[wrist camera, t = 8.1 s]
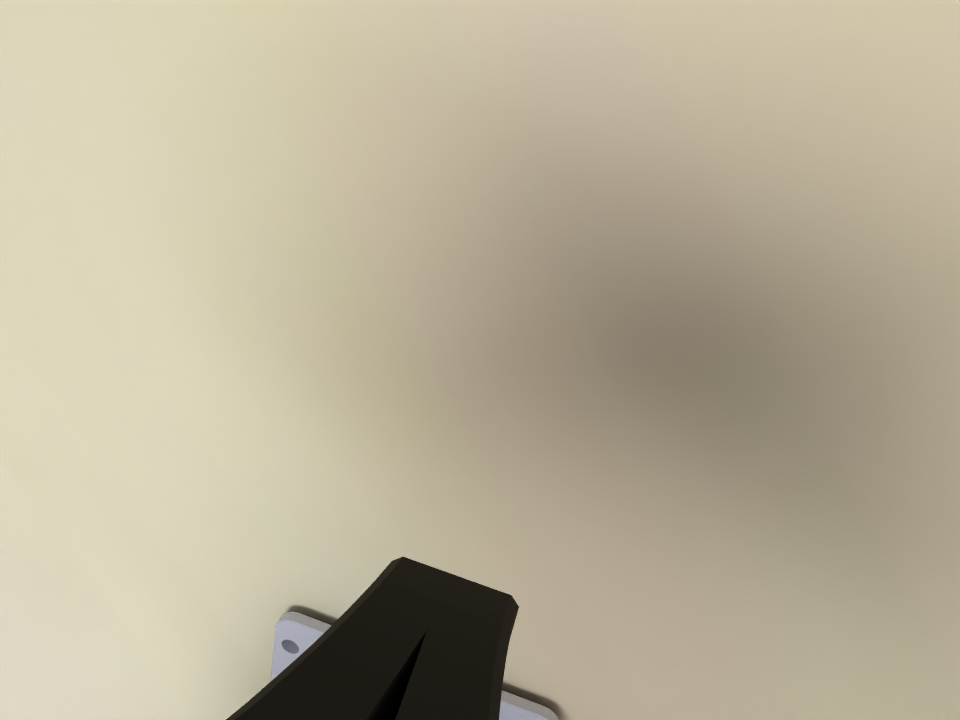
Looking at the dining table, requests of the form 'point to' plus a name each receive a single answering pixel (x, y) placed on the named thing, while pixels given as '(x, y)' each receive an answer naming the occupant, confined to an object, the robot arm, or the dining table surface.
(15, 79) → the dining table surface
